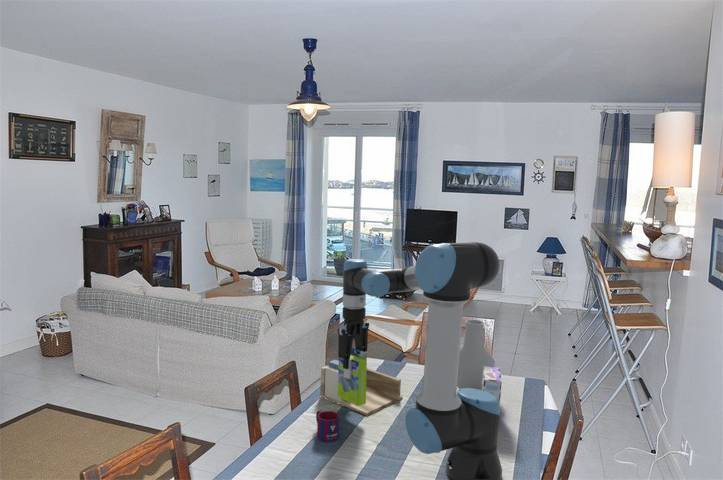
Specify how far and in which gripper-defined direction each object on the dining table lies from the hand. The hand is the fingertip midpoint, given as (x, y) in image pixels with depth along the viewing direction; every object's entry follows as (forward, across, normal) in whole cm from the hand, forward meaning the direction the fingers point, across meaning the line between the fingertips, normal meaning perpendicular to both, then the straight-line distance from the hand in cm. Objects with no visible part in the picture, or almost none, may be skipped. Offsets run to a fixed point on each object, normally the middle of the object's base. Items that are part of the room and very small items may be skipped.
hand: (352, 375), depth 184 cm
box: (+9, 0, 0) cm, 9 cm away
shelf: (+14, +14, +8) cm, 21 cm away
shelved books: (+13, +7, +13) cm, 20 cm away
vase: (+15, +45, -19) cm, 51 cm away
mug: (+15, -15, -2) cm, 21 cm away
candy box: (+15, +31, -34) cm, 49 cm away
